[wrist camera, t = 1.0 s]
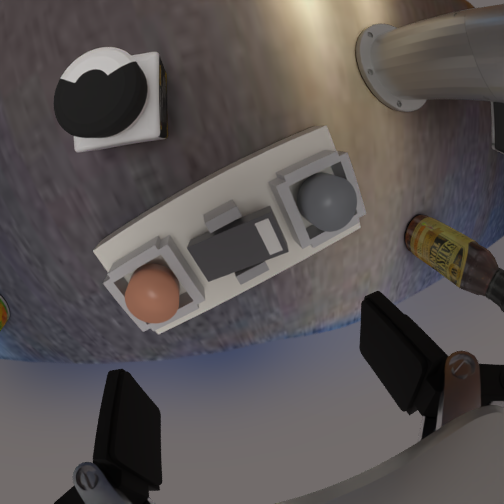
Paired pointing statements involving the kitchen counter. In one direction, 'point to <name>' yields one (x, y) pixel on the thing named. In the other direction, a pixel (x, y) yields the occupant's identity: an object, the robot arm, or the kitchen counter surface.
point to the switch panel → (222, 213)
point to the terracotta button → (153, 293)
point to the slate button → (327, 201)
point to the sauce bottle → (456, 257)
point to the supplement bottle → (3, 312)
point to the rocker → (238, 244)
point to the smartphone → (497, 126)
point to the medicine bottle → (112, 99)
